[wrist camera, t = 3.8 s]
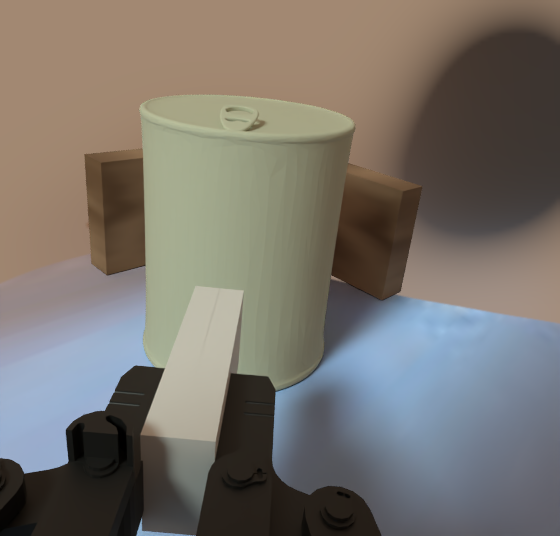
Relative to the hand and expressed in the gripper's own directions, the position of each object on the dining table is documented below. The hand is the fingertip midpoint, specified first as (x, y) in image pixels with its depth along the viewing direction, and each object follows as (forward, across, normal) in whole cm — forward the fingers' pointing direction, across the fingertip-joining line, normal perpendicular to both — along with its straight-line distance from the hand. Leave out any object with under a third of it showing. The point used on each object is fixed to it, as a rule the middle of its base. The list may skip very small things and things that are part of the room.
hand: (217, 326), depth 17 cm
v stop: (+20, 0, -6) cm, 21 cm away
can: (+9, 0, -6) cm, 11 cm away
